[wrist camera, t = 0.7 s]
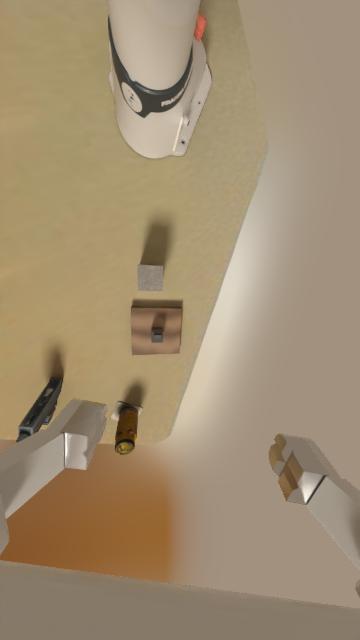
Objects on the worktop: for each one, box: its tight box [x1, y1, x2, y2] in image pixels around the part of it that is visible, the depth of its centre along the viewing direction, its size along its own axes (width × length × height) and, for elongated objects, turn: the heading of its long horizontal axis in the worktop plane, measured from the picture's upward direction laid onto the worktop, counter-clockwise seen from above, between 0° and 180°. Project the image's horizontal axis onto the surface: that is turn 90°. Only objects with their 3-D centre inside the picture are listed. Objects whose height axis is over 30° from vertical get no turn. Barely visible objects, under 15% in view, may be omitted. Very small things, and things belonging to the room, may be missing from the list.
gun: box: [16, 377, 62, 443], centre depth 45 cm, size 3×17×15 cm
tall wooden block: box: [138, 265, 163, 291], centre depth 42 cm, size 5×5×10 cm
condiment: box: [110, 402, 143, 455], centre depth 53 cm, size 7×8×12 cm
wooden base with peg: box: [131, 307, 182, 355], centre depth 49 cm, size 14×14×7 cm
